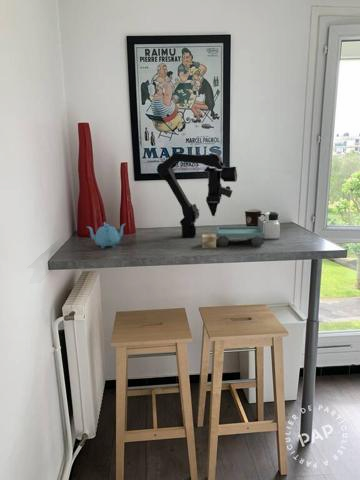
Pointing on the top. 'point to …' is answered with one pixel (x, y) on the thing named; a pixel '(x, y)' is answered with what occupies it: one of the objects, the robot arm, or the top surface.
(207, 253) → the top surface
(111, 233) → the teapot
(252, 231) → the teal toy wagon
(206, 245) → the block
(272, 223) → the medicine bottle
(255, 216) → the coffee mug
